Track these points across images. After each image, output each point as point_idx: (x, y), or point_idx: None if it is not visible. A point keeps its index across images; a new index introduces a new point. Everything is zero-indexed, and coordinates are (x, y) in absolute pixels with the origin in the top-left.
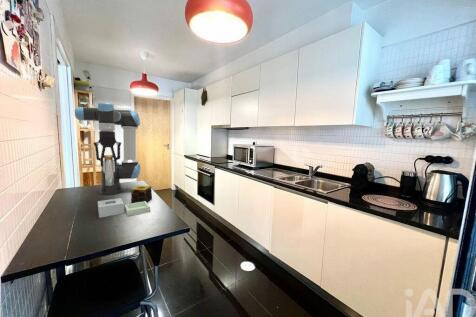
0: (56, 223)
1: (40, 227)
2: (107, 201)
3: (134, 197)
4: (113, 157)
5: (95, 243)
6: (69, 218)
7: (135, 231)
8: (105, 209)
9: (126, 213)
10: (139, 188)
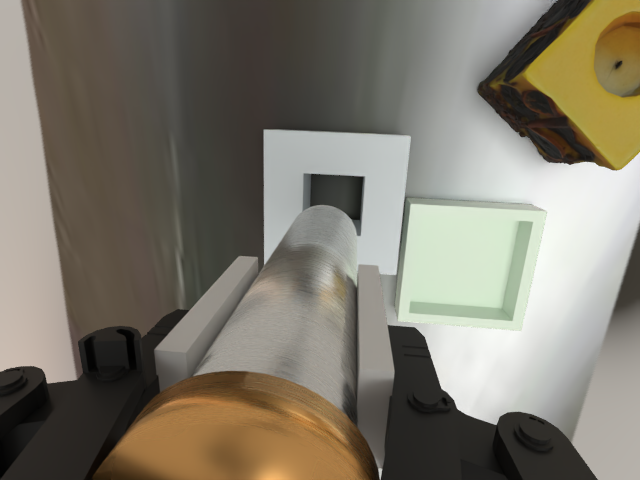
0: (114, 204)
1: (67, 216)
2: (318, 173)
3: (513, 100)
4: (388, 458)
5: None
6: (154, 167)
7: None
8: None
9: (398, 271)
10: (601, 87)
